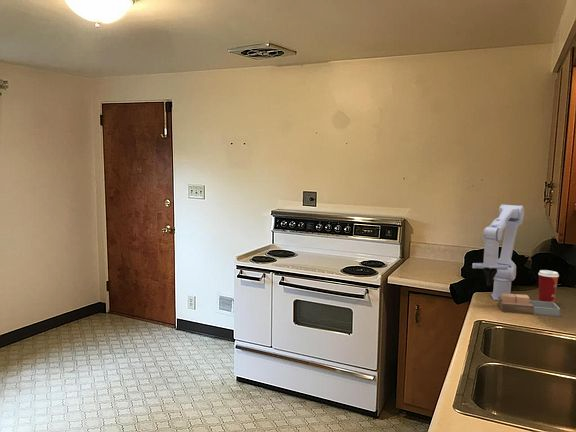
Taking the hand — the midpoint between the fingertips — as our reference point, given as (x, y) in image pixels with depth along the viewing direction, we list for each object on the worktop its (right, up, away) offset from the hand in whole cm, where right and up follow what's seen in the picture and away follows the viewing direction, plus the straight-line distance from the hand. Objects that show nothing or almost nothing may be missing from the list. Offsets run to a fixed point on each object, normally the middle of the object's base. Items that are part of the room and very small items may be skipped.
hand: (489, 285), depth 214 cm
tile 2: (+13, -7, -3) cm, 15 cm away
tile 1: (+8, -7, -1) cm, 10 cm away
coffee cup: (+28, -10, +6) cm, 30 cm away
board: (+11, -10, -2) cm, 15 cm away
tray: (+21, -11, -5) cm, 24 cm away
